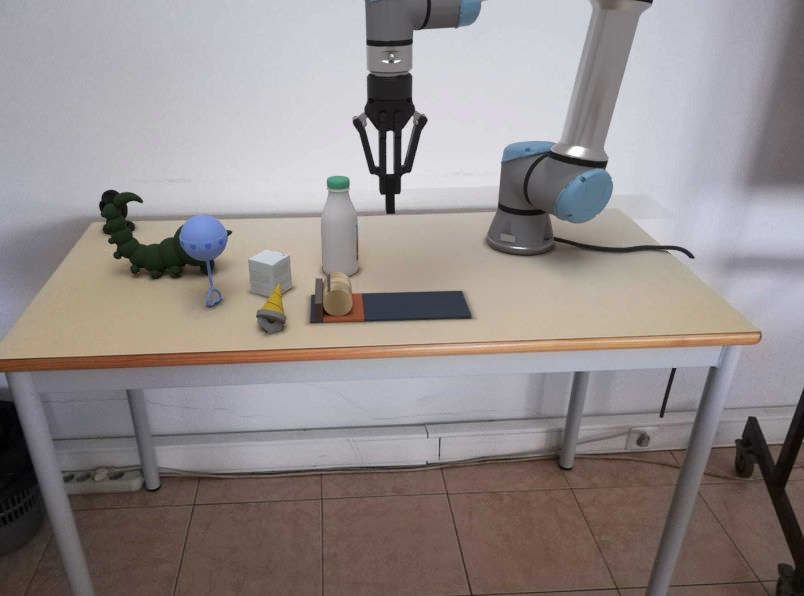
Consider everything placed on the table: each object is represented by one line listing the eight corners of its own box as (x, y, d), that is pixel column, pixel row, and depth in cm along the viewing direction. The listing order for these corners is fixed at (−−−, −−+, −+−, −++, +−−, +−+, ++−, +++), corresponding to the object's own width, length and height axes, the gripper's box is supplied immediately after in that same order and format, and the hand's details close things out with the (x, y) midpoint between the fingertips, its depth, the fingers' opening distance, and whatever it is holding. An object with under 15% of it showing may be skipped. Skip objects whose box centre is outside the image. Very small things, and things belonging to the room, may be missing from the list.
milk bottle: (354, 279, 142) (352, 184, 132) (318, 276, 143) (314, 182, 133) (362, 264, 149) (361, 173, 138) (327, 262, 150) (324, 171, 140)
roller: (356, 287, 133) (340, 266, 130) (358, 306, 126) (341, 284, 123) (333, 302, 134) (317, 281, 131) (334, 321, 127) (316, 300, 125)
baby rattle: (213, 319, 127) (201, 227, 118) (180, 308, 131) (165, 218, 122) (244, 301, 133) (235, 213, 124) (211, 291, 137) (200, 205, 128)
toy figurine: (118, 290, 141) (237, 277, 142) (90, 203, 132) (218, 188, 132) (128, 272, 149) (242, 259, 150) (103, 188, 140) (224, 174, 140)
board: (461, 292, 136) (462, 274, 134) (471, 318, 127) (473, 299, 125) (311, 296, 135) (310, 278, 133) (310, 323, 125) (309, 303, 123)
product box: (269, 281, 141) (266, 248, 137) (293, 287, 138) (290, 254, 135) (250, 292, 137) (247, 258, 133) (274, 299, 134) (271, 265, 130)
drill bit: (249, 332, 123) (261, 282, 126) (276, 341, 125) (288, 290, 128) (256, 327, 118) (269, 274, 121) (285, 335, 120) (297, 283, 123)
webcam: (96, 231, 167) (87, 191, 162) (120, 222, 172) (112, 183, 167) (118, 237, 163) (109, 196, 158) (142, 228, 169) (134, 188, 163)
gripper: (350, 77, 108) (355, 220, 120) (432, 75, 108) (428, 217, 120) (348, 70, 114) (353, 206, 126) (426, 67, 115) (423, 203, 127)
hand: (390, 211), depth 123 cm, fingers closed
